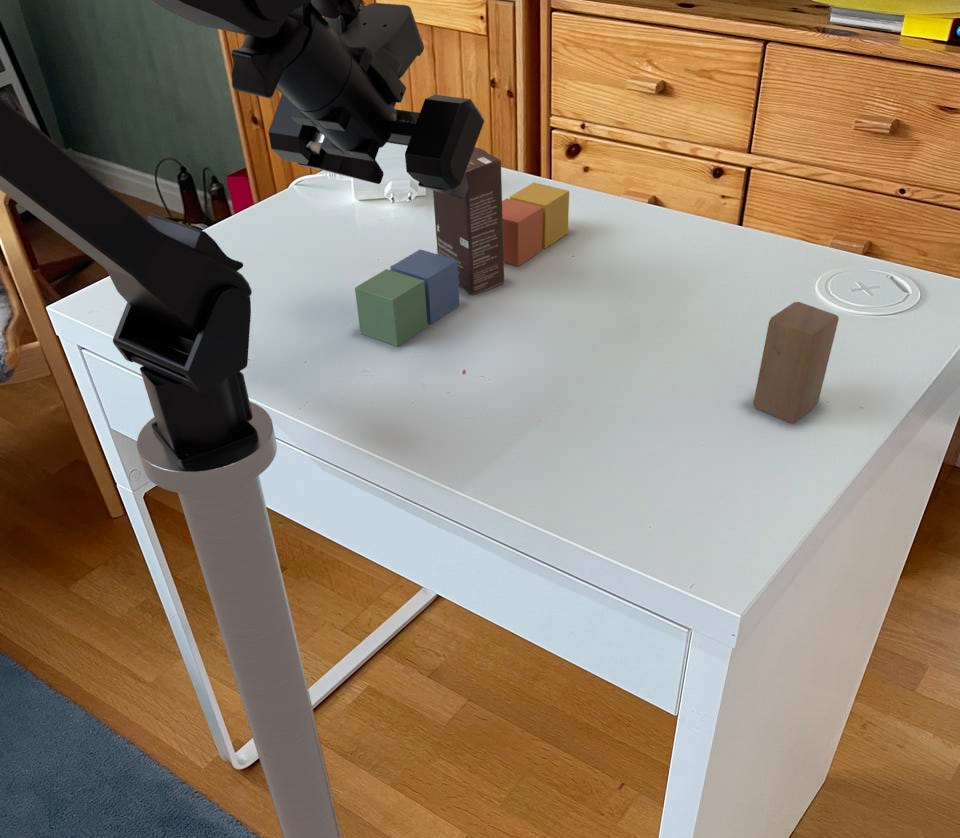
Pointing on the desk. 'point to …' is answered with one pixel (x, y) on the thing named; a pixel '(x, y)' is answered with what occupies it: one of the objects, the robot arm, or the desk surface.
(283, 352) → the desk surface
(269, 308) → the desk surface
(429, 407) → the desk surface
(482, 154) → the box
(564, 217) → the block line
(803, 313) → the wooden block
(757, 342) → the desk surface
